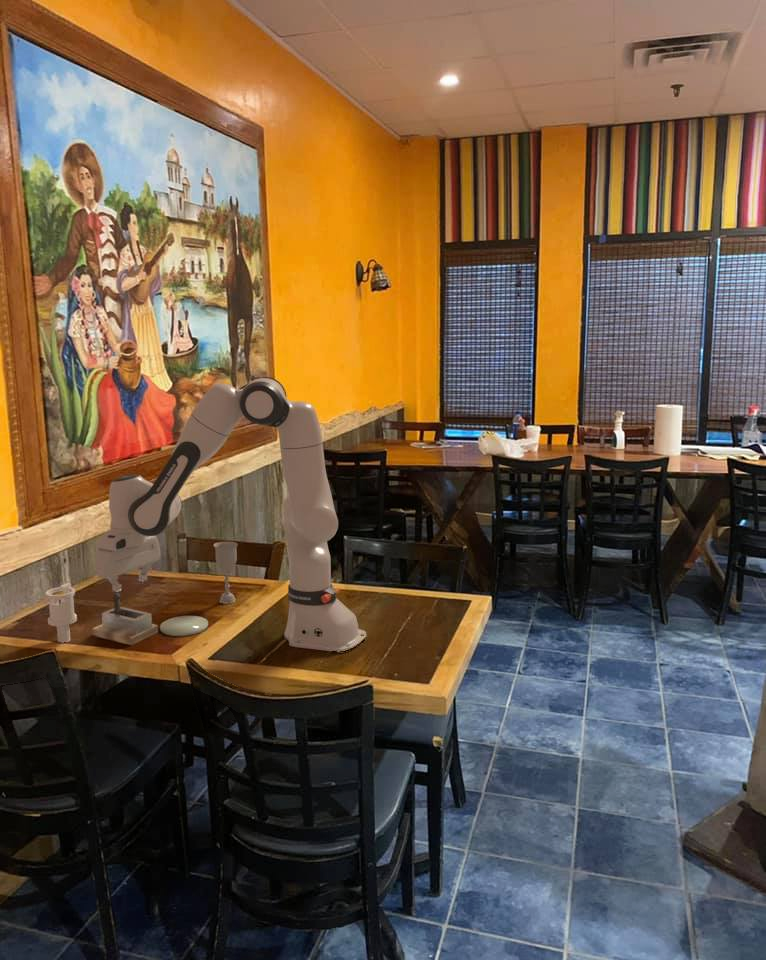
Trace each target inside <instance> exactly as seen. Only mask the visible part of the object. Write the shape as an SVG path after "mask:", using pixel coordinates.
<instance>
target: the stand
mask: <svg viewBox="0 0 766 960" xmlns="http://www.w3.org/2000/svg"><path fill="white" fill-rule="evenodd" d="M112 599H113V608H114V613H115V614H117V615H121V609H120V607H121V594H120V593H119V592H115V593H114V594H113V595H112ZM91 631H92V632H91V633H92V636H94V637H97V638H101V639H106V640H108V641H109V640H110V641H113V642H117V643H121V644H126V645H129V646H133V645H135V644H137V643H140V642H142V640H145V639H147V638H149V637H151V636H153V635H155V634H157V633H158V632H159V625H158V624H154V623H152V628H150V629H148V630H146V631H144V632H142V633H140V634H138V635H133V634H129V633H125V632H121V631H116V630H112V629H108V628H104V627H103V623H100V624H99V625H97V626H95V627H93V628H91Z"/></svg>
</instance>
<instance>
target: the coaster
mask: <svg viewBox="0 0 766 960" xmlns="http://www.w3.org/2000/svg"><path fill="white" fill-rule="evenodd" d="M208 627H209V621H208V619H206V618H204V617H202V616H197V615H181V616H174V617H172V618H168V619H166V620H164V621H163V622H161V623H160V625H159V630H160V632H161V633H162V634H163V635H165V636H170V637H188V636H193V635H197V633H198V634H200V633H202V632H204V631H205V630H207V629H208ZM206 628H207V629H206Z"/></svg>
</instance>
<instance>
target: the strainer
mask: <svg viewBox="0 0 766 960" xmlns="http://www.w3.org/2000/svg"><path fill="white" fill-rule="evenodd" d="M59 592H65V593H64V594H56V595H55V593H59ZM53 594H54V595H53ZM75 595H76V589H75V588H74V587H72V583H69V582H66V583H64V584H61V585H60V586H59V587H53V588H50V589H49V590H47V591H46V592H45V598H46V599H47V600H48V608H49V609H48V611H49V617H48V618H47V623H48V625H49V626H51V627H52V626H53V627H56V632H57V633H56V635H57V643H59V642H61V643H60V644H65V643H64V642H66V643H69V642H70V641H71V632H70V629H71V628H70V625H72V624H74V623H75V622H77V620H78V615H77V614H76V613H75V605H74V604H75V603H74V596H75Z"/></svg>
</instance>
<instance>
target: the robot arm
mask: <svg viewBox="0 0 766 960" xmlns="http://www.w3.org/2000/svg"><path fill="white" fill-rule="evenodd" d="M242 419H247V420H248V421H249V422H251V423H253V424H256V425H260V426H267V427H270V428H276V429H277V433H278V438H279V449H280V457H281V463H282V474H283V479H284V481H285V485H286V488H287V492H288V493H287V494H288V495H287V496H286V497H285V499H284V501H283V504H282V512H283V517H284V529H285V537H286V538H285V539H286V543H287V544H286V545H287V551H288V552H287V553H288V563H289V565H288V566H289V584H288V585H287V599H288V602H289V604H288V605H289V607H288V616H287V623H286V628H285V629H284V630H285V631H284V634H283V635H284V638H285V639H286V640H287V641H288V645H289V646H290V647H294V648H302V649H309V650H317V651H318V650H319V651H326V652H332V651H337V652H336V653H341V652H340V651H345V650H348V649H350V648H353V647H354V646H356V645H357V644H359V643H360V642H361V641H362V640H363V639H364V638H365V637H366V638H367V631H365V630H364V629H360V628H359V623H358V620H357V616H356V614H355V613H354V612H353V611H351V610H350V609H349V608H348V607H347V606H346V605H345V604H343V602H341V601H340V600H339V599H338V598H337V594H338V593H340V588H336V589H335V588H334V587H333V584H332V583H331V581H332V579H331V577H332V575H331V569H332V567H331V564H332V563H331V554H330V551H329V546H328V541H330V540H331V539H332V538H334V536H335V535H336V533H337V531H338V529H339V519H338V516H337V512H336V509H335V505H334V500H333V494H332V491H331V487H330V483H329V480H328V474H327V469H326V464H325V463H326V461H325V452H324V444H323V442H324V441H323V436H322V430H321V425H320V422H319V417H318V414H317V410H316V408H315V407H314V406H313V404H311V403H309V402H306V401H301V400H299V401H298V400H297V401H293V400H290V399H289V398H288V397H287V392H286V389H285V388H284V386H283V384H282V383H281V382H280V381H278V380H277V379H275V378H274V377H269V376H264V377H263V376H262V377H259V378H256V379H253V380H251V381H250V382H248V383H246V384H244V385H243V386H241V387H240V388H236V387H234V386H232V385H230V384H227V383H225V382H224V383H220V382H219V383H215V384H213V385H212V386H211V387H210V388H209V389H208V390H207V391H206V392H205V394H203V396H201V398H200V400H199V401H198V403H197V404H196V405H195V407H194V409H193V410H192V411H191V413H190V415H189V417H188V419H187V420H186V423H185V424H184V426H183V428H182V431H181V433H180V435H179V437H178V440H177V441H176V444H175V447H174V448H173V451H172V453H171V455H170V457H169V458H168V461H167V463H166V464H165V465H164V467H163V469H161V472H160V474H159V475H158V476H157V478H156V479H155V481H154V483H152V482H150V481H148V480H147V479H145V478H143V476H141V474H127V475H123V476H122V475H121V476H119V477H116V478H115V479H113V480H112V481H111V483H110V485H109V493H108V494H109V496H108V508H109V509H108V510H109V513H110V516H111V517H110V519H111V520H110V524H109V526H110V527H109V528H110V529H108V530H107V531H106V532H105V533H104V534H103V535H101V536H99V537H98V538H97V539H96V540H95V541H94V547H95V548H97V550H96V552H95V555H94V556H95V557H94V568H95V569H94V571H95V575H96V576H97V578H99V579H102V580H108V581H109V583H110V584H111V586H112V587H111V589H112V591H113V592H115V593H119V592H120V591H122V589H123V588H122V583H119V582H118V580H119V576H121V575H124V574H126V573H129V572H131V571H134V570H137V569H140V568H141V571H140V574H138V581H139V582H142V583H144V582H147V581H148V575H149V571H150V570H151V565H152V564H154V563H156V562H159V561H160V559H161V548H160V547H161V546H160V543H159V538H158V535H160V534H161V533H162V532H163V531H165V529H166V528H167V527H168V526H169V525H170V524H171V523H172V522H173V521H174V520H175V519H176V518H177V517H178V516H179V515H180V514H181V511H182V507H183V504H182V503H183V502H182V498H181V497H180V495H179V493H180V491H181V490H182V488H183V486H184V485H185V483H186V482H187V480H188V479H189V478H190V476H191V475H192V474H193V473H194V472H195V471H196V470H197V469H198V468H199V467H200V466H202V465H203V464H205V463H206V462H207V461H208V460H210V459H211V458H212V457H213V456H214V455H216V453H218V451H219V450H220V449H221V448H222V447H223V445H224V444H225V443H226V441H227V440H228V438H229V437H230V436H231V434H232V432H233V430H234V429H235V427H236V425H237V424H238V423H239V422H240V421H241V420H242ZM361 635H364V636H361Z"/></svg>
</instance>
